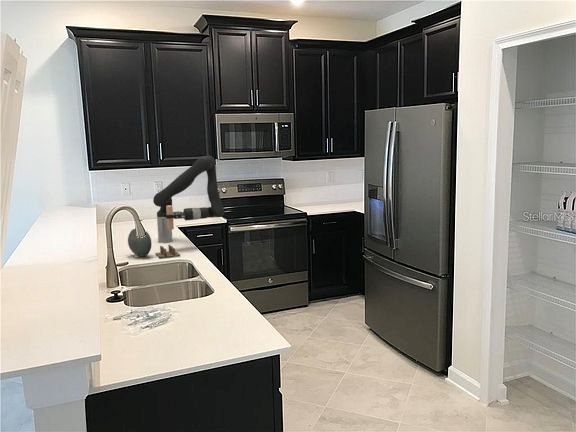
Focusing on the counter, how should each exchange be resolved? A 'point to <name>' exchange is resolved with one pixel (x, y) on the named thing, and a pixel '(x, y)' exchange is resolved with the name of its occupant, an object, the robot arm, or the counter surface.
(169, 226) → the terracotta card
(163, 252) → the walnut rack
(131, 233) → the dark green ellipsoid
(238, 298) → the counter surface
